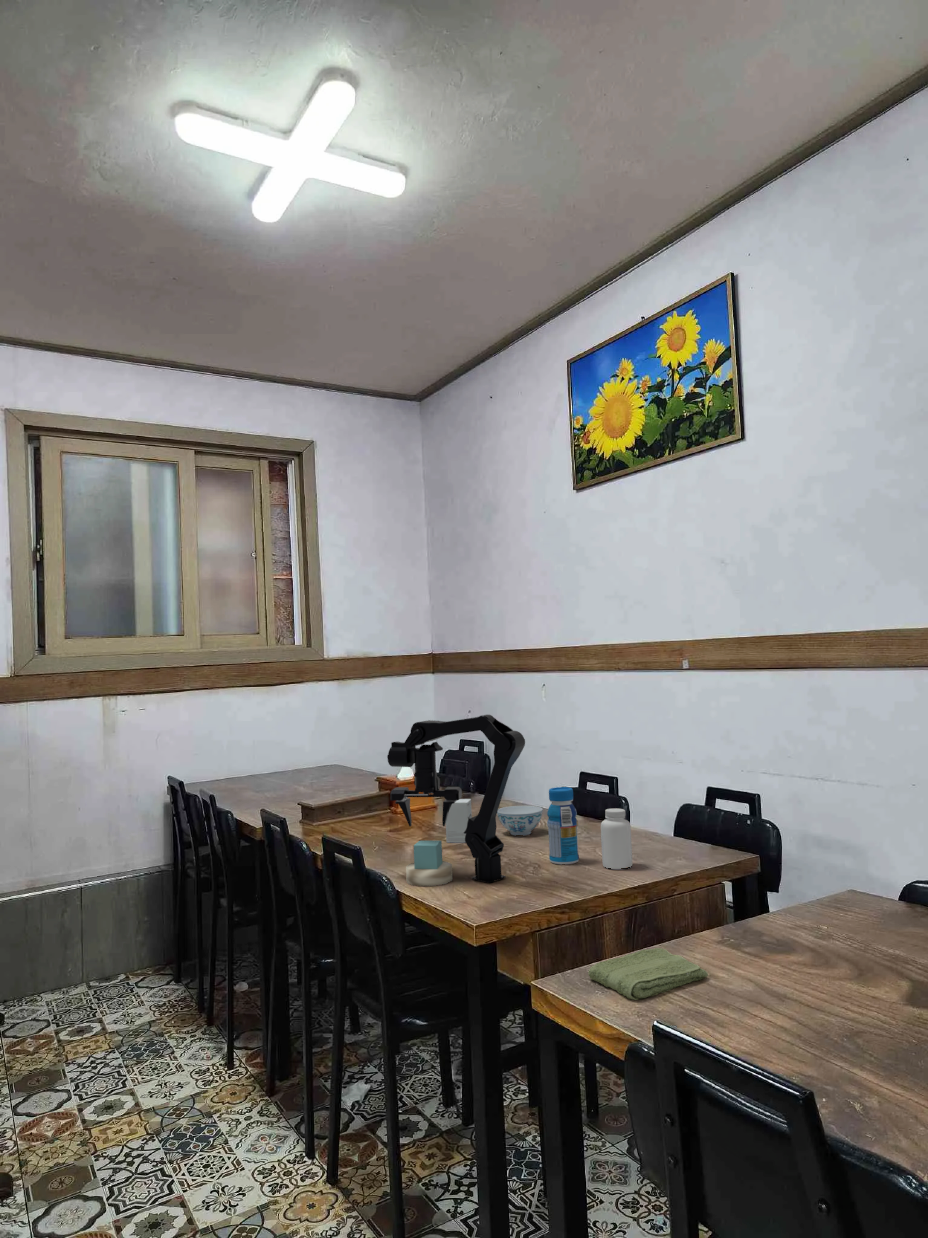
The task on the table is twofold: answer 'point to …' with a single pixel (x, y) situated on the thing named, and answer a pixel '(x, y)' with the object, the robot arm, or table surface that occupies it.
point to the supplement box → (458, 821)
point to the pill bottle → (616, 840)
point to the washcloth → (646, 973)
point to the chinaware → (520, 818)
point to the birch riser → (429, 875)
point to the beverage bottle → (562, 827)
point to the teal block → (428, 854)
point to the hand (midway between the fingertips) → (427, 826)
